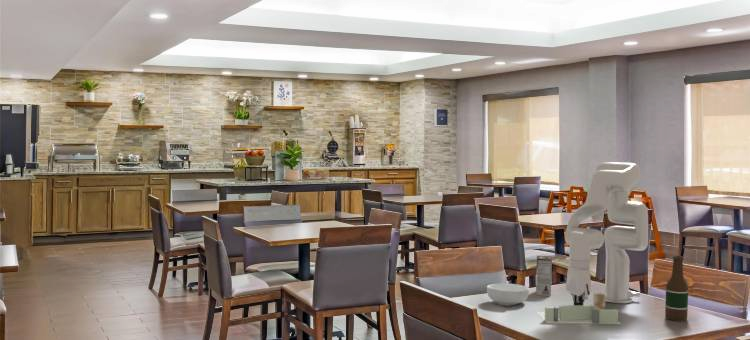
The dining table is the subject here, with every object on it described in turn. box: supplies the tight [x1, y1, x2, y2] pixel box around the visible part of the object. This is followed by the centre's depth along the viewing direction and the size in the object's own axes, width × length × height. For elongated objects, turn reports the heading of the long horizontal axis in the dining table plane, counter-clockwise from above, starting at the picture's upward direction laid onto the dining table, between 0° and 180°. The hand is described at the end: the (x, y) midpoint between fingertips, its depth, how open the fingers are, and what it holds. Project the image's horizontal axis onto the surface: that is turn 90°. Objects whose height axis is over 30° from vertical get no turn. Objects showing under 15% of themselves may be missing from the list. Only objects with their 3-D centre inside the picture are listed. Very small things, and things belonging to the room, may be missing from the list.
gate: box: [558, 304, 595, 320], centre depth 262 cm, size 14×2×5 cm, turn 101°
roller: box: [592, 292, 606, 309], centre depth 270 cm, size 4×4×8 cm
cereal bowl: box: [486, 283, 530, 307], centre depth 290 cm, size 17×17×7 cm
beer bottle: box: [664, 255, 689, 322], centre depth 268 cm, size 8×8×24 cm
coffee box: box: [535, 255, 553, 297], centre depth 310 cm, size 9×6×16 cm
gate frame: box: [536, 306, 622, 325], centre depth 266 cm, size 27×17×5 cm, turn 91°
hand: (578, 312), depth 266 cm, fingers closed
